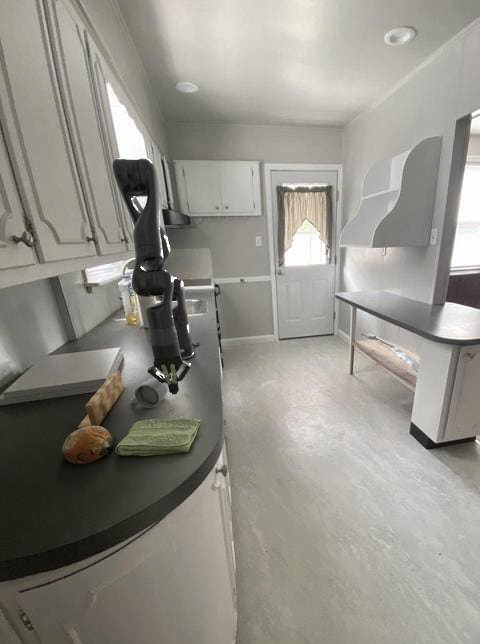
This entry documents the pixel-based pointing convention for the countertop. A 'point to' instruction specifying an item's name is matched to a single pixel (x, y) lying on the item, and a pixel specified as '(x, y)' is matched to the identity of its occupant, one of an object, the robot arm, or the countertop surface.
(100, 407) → the mottled tan rectangular block
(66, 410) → the countertop surface
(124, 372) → the countertop surface
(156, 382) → the ceramic mug
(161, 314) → the robot arm
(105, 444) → the bread roll
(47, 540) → the countertop surface
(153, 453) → the washcloth
